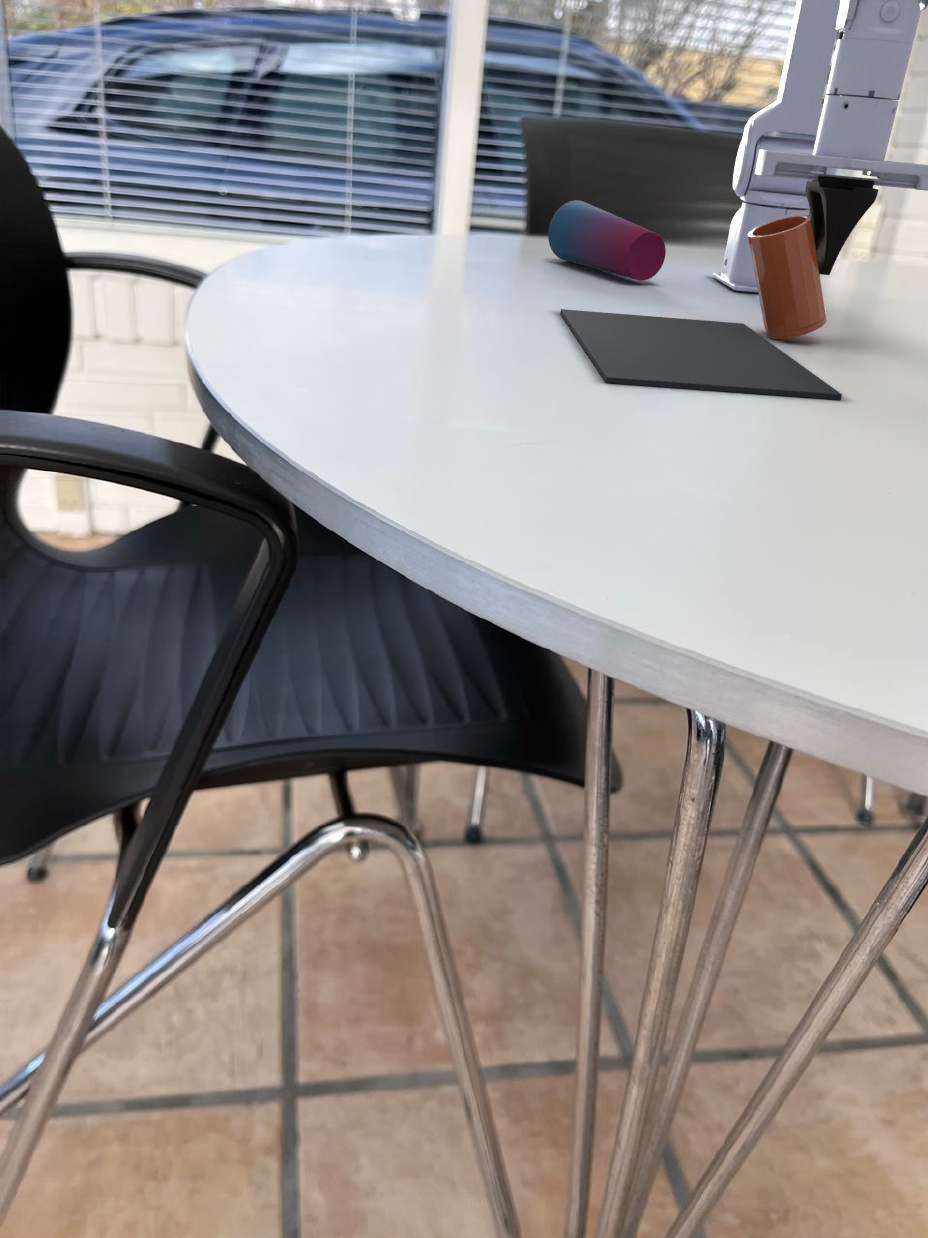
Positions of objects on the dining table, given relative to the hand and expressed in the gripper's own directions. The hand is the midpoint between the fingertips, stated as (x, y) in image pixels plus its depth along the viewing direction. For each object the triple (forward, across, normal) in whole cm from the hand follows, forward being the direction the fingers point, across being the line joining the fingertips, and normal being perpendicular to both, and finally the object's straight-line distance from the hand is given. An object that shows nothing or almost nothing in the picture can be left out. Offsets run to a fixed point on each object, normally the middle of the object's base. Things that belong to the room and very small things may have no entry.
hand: (821, 273), depth 89 cm
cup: (+2, -10, +23) cm, 25 cm away
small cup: (+5, -1, 0) cm, 5 cm away
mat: (+6, -13, -9) cm, 17 cm away
